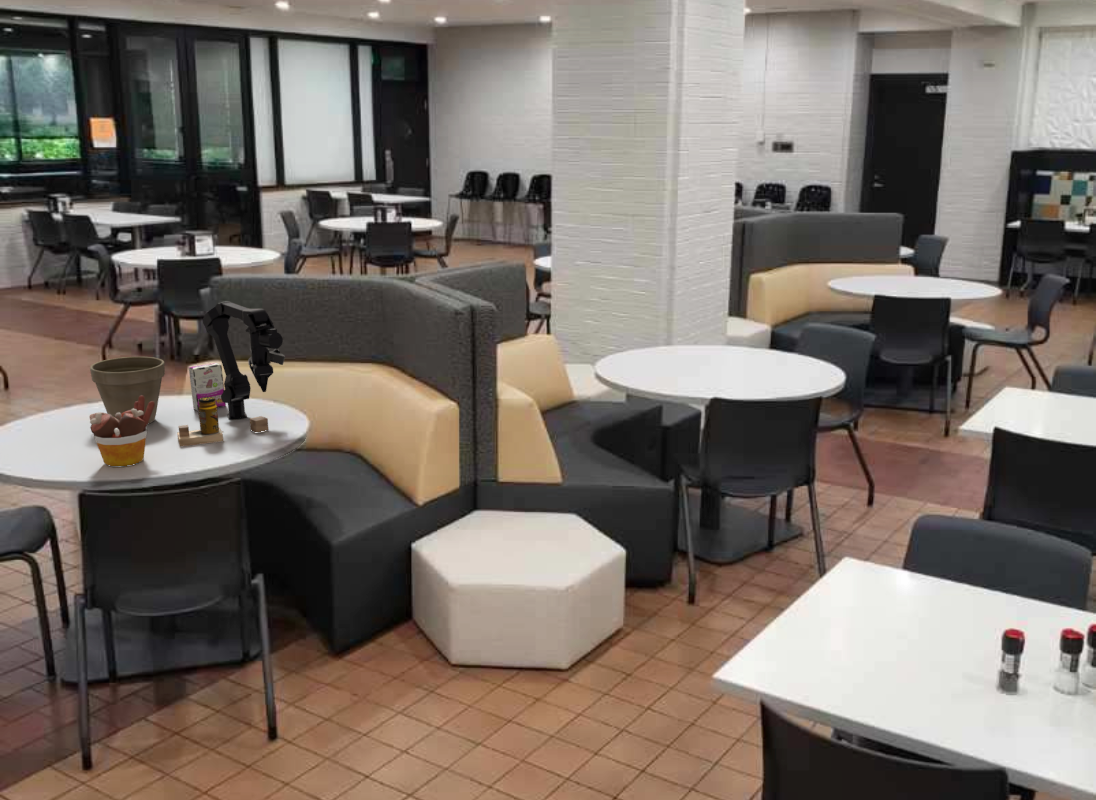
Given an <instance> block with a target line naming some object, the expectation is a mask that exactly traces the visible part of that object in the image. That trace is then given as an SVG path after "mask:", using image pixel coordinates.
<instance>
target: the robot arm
mask: <svg viewBox="0 0 1096 800" xmlns="http://www.w3.org/2000/svg"><path fill="white" fill-rule="evenodd" d="M232 318H235V319H237V320H241V321H242V323H243V324H244V325H245V326H246V327H247V328H246V329H245V332H246V333H248V335H249V351H250V357H249V358H248V359H247V360H248V361H247V364H248V366H249V369H250V371H251V372H252V375H253V376H254V378H255V381H256V382H257V385H258V387H260V390H261V391H262V392H263V393H266V392H267V388H268V382H269V378H270V377H271V376H273V374H274V367H273V366H272V365H271V364H272V363H274V364H279V365H281V366H283V365H284V362H285V359H286V356H285V354H283V353H281V351H280V350H279V349H280V347H282V345H283V342H284V339H283V337H282V335H281V334H280V333H279V332H278V330H277V328H275V326H274V322H273V321H272V319H271V317H270V316H269V313H268V312H267V311H266V310H265V309H264V308H248V307H245V306H242V305H240V304H237V303H234V302H232V301H229V300H225V301H219V302H218V303H216V305H214V307H212V308H211V309H209V310H208V311H207V312H206V313H205V314H204V315H203V318H202V324H203V325H204V328H205V330H206V332H207V333H208V334H209V335H210V336H212V338H213V340H214V343H215V345H216V348H217V353H218V355H219V358H220V361H221V366H222V369H223V371H224V374H225V379H224V381H223V384H224V392H223V393H222V395H221V399H222V402H225V403H226V404H227V411H228V413H227V414H226V417H227V418H228V420H236V419H238V420H239V419H246V418H248V415H247V413H246V409H245V400H249V399H250V395H251V384H250V382H249V378H248V377H249V376H248V375H247V374H243V373H241V371H240V368H239V365H238V362H237V359H236V356H235V354H234V350H233V347H232V344H231V341H230V337H229V330H230V319H232ZM270 349H273V350H270Z"/></svg>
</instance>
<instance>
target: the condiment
mask: <svg viewBox="0 0 1096 800" xmlns="http://www.w3.org/2000/svg"><path fill="white" fill-rule="evenodd" d="M197 412H198V417H199V418H198V419H199V430H201V431H197V432H191V433H192V434H194V435H196V436H198V437H205V436H209V435H214V434H219V433H222V434H223V433H224V431H222V430H221V431H220V430H219V428H220V426H219V425H220V423H219V415H218V413H219V412H218V408H217V406H216V403H215V398H214V397H202V398H200V399H199V407H198V411H197Z"/></svg>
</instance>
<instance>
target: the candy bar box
mask: <svg viewBox="0 0 1096 800" xmlns="http://www.w3.org/2000/svg"><path fill="white" fill-rule="evenodd" d="M188 374H189V383H190V389H191V390H190V391H191V399H192V406H193V410H194V409H195V411H196V410H197V411H196V412H199V411H198V407H199V399H200V398H202V397H214V398H215V403H216V406H217V409H218V407H219V408H223V406H224V407H226V405H227V403H225V402H222V399H221V395H222V393H223V392H224V390H225V386H224V377H223V365H222V363H219V362H213V363H212V362H211V363H205V364H200V365H195V366H194V365H193V366H189V367H188Z"/></svg>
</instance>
